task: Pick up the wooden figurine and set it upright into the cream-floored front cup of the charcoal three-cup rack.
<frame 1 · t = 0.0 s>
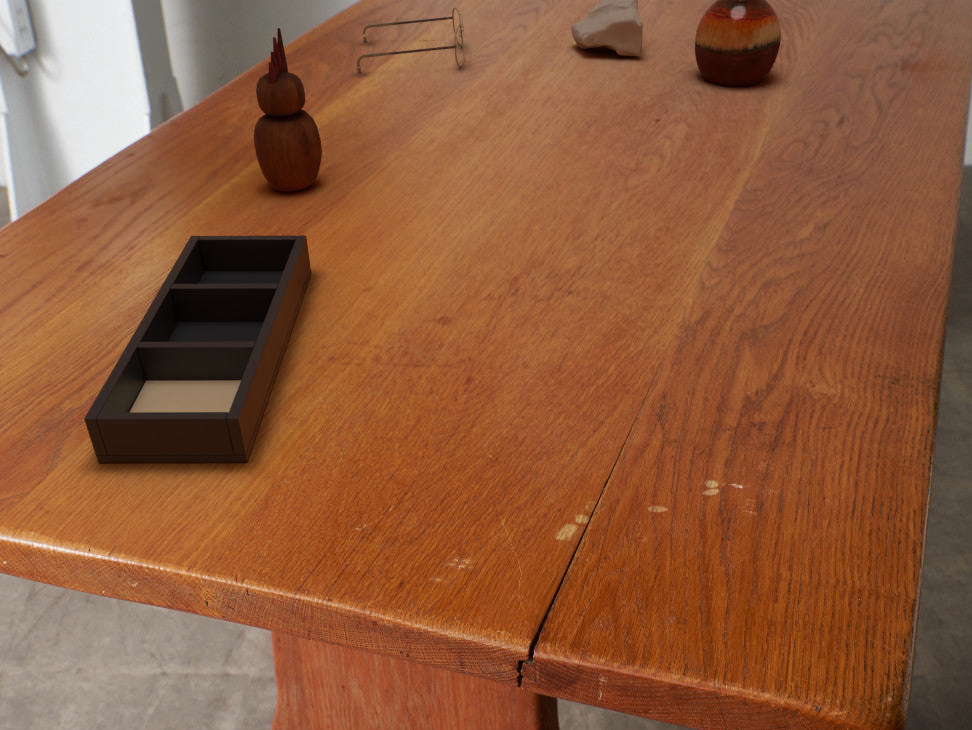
rack: (219, 354, 79), on the table
decorative stone: (606, 53, 146), on the table
wooden figurine: (293, 187, 107), on the table
vase: (732, 79, 136), on the table
eyeglasses: (412, 57, 145), on the table
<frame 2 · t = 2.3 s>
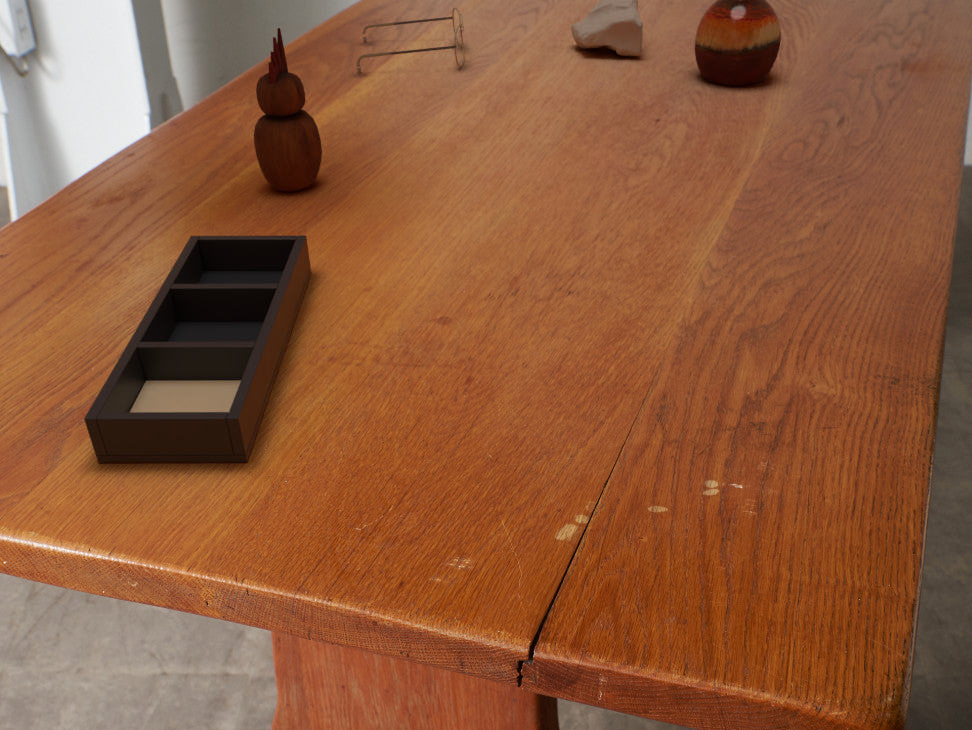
nothing on the table moved.
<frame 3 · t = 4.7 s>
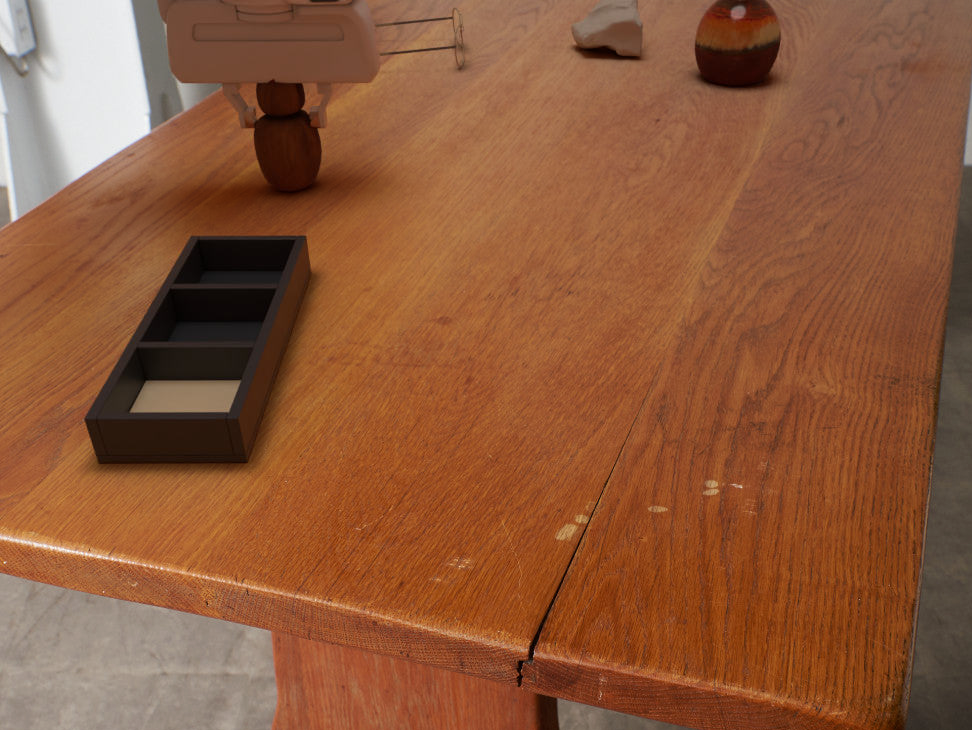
hand: (285, 126, 103), 6 cm above the table, tool pointing down, fingers closed on wooden figurine, 6 cm apart
wooden figurine: (293, 187, 107), on the table, touching gripper
everything else where it was.
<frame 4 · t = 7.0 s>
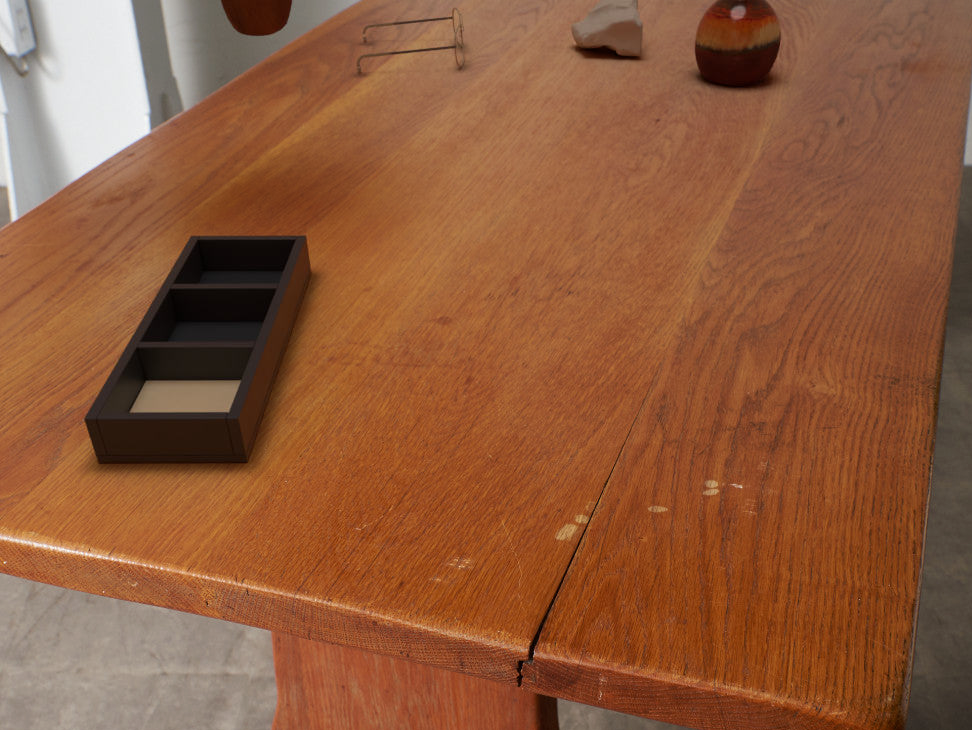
wooden figurine: (261, 34, 95), point 16 cm above the table, touching gripper
everything else where it was.
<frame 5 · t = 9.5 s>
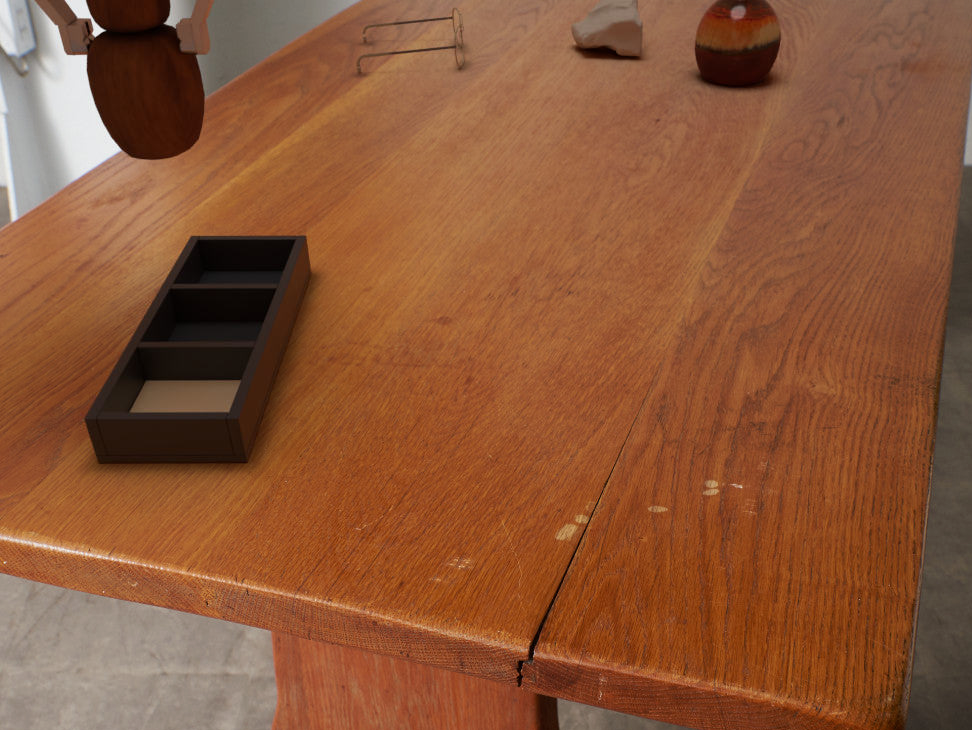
hand: (140, 52, 62), 23 cm above the table, tool pointing down, fingers closed on wooden figurine, 6 cm apart
wooden figurine: (162, 154, 66), point 17 cm above the table, touching gripper
everything else where it was.
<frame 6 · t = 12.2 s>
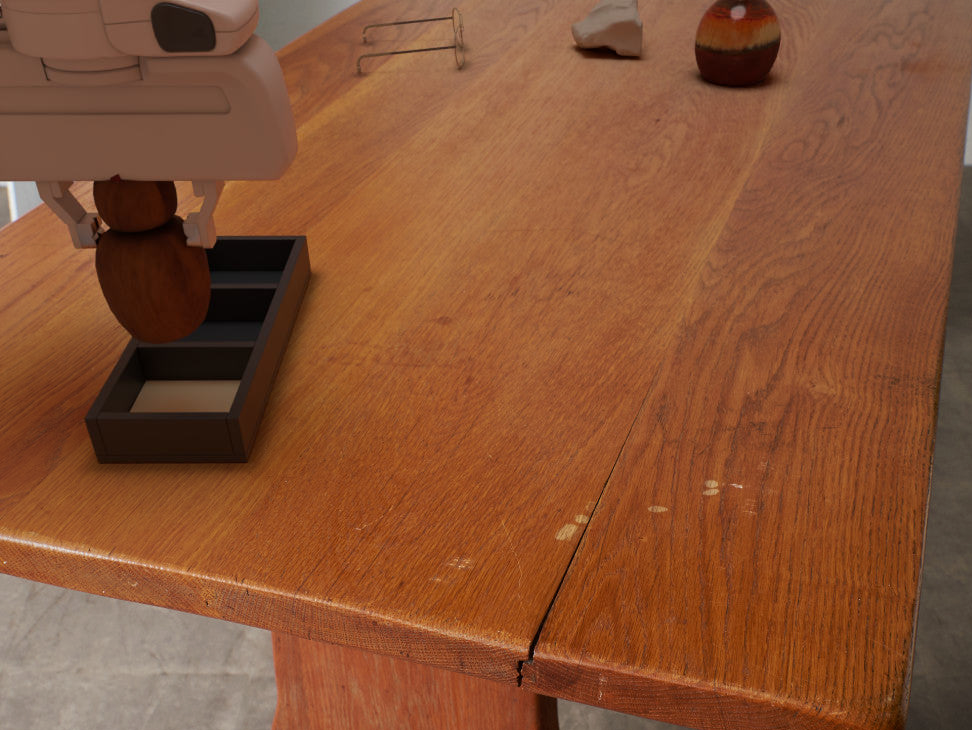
hand: (147, 245, 64), 13 cm above the table, tool pointing down, fingers closed on wooden figurine, 6 cm apart
wooden figurine: (169, 333, 68), point 7 cm above the table, touching gripper
everything else where it was.
when the fingers open (7 cm above the table, at t = 14.3 s): wooden figurine stays where it is, resting on rack.
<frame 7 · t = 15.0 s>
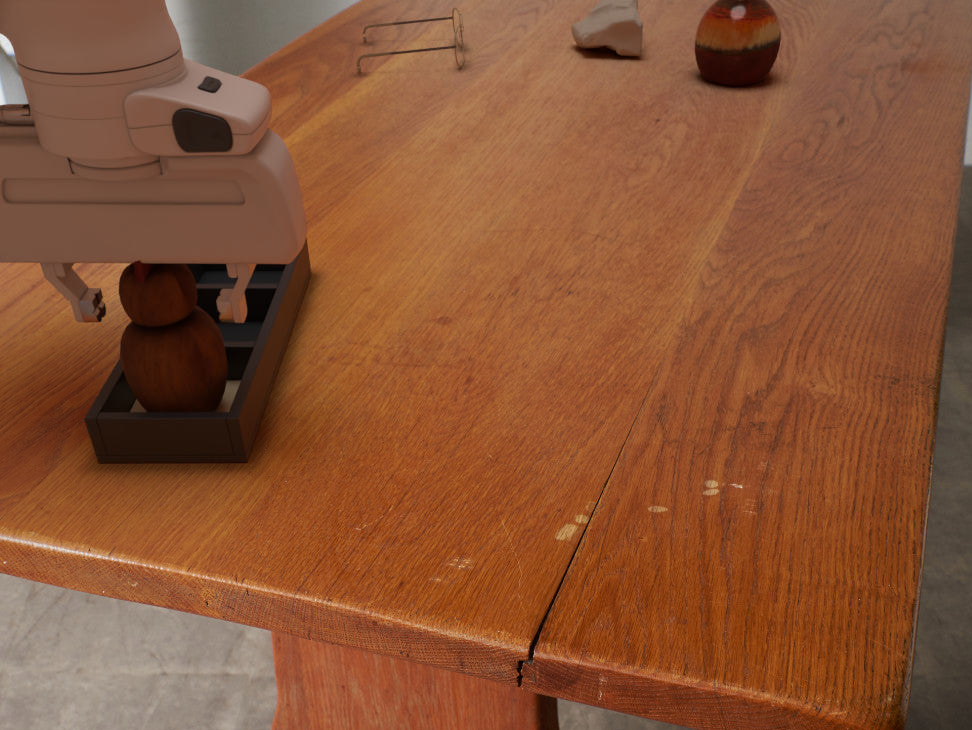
hand: (163, 319, 67), 8 cm above the table, tool pointing down, fingers open, 8 cm apart
wooden figurine: (188, 413, 72), point 1 cm above the table, touching rack
everything else where it was.
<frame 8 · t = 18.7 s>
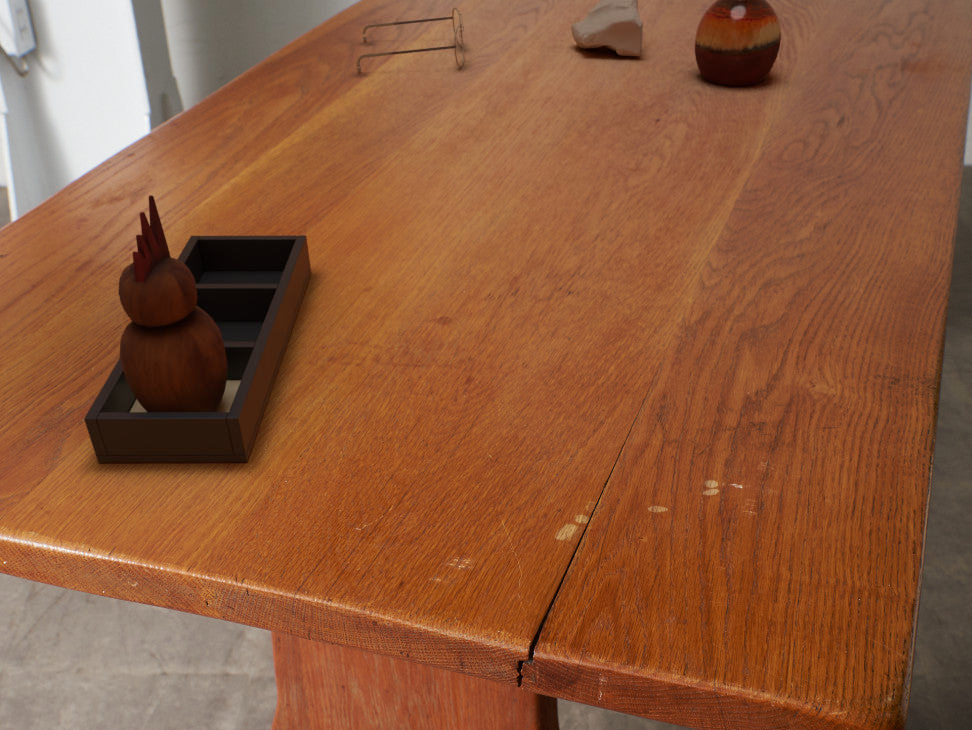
nothing on the table moved.
at the end: wooden figurine 0.1 cm from the target spot in the rack, point 0.6 cm above the rack's base; wooden figurine tilted 0°; the gripper is holding nothing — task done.
